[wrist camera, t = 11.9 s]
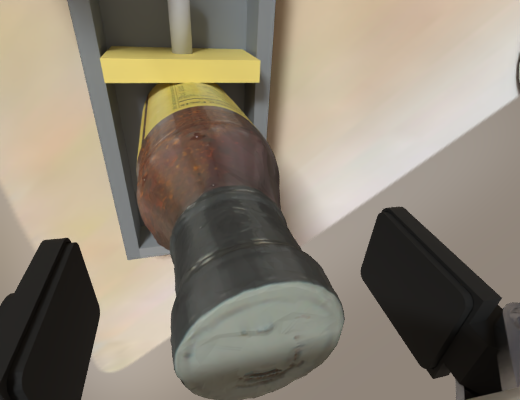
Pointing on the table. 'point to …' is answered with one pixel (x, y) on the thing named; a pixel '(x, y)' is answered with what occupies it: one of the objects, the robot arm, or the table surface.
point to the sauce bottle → (229, 248)
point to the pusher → (179, 58)
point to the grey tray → (135, 94)
